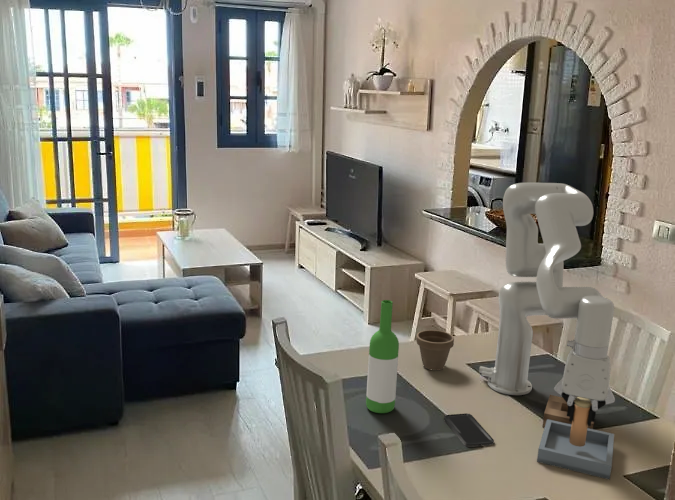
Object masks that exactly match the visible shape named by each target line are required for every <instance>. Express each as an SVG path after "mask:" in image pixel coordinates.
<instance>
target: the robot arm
mask: <svg viewBox="0 0 675 500" xmlns="http://www.w3.org/2000/svg"><path fill="white" fill-rule="evenodd" d="M502 209H503V216H504V220H505V225H506V238H505V239H506V240H505V269H506V272H507V274H509V275H510V276H512V277H517V278H536V280H535V281H512V282H507V283H505V284H504V285H502V286H501V288H500V289H499V291H498V309H499V324H498V335H497V343H496V344H497V345H496V353H495V362H494V367H487V366H482V365H480V366H479V368H478V369H479V370H478V372H479V373H481V376H484V377H488V378H487V385H488V386H489V388H490V389H492V390H494V391H496V392H497V393H500V394H504V395H508V396H522V395H523V396H524V395H528V394H530V393H531V392H532V390H533V385H532V383H531V381H530V380H528V376H529V368H530V361H531V359H530V358H531V353H532V352H531V351H532V344H533V335H534V331H533V328H532V326H531V325H532V324H531V323H530V322H529V321H528V319H527V317H530V316H548V317H549V318H550V319H556V320H558V319H559V320H561V319H576V326H575V333H574V339H571V340H567V343H566V347H569V348H571V349H570V351H569V353H568V355H567V358H566V360H565V366H564V369H563V370H564V371H563V376H562V378H561V379H560V380H559V381H558V382H557V383H556V384H555V386H554V388H553V390H554V391H555V392H556V394H559V395H560V397H563V398H564V400H565V401H566V402H567V405H568V410H567V416H569V417H570V418H569V422H571V421H572V420H573V413H574V404H575V403H574V400H575V398H577V397H581V398H586V399H589V400H590V401H591V403H592V404H591V407H590V411H589V418H588V426H591V421H592V422H594V423H595V420H596V413H597V411H598V410H599V409H601V408H603V407H604V406H606V405H611V404H613V403H615V401H616V398H615V395H614V393H613V391H612V389H611V387H610V381H611V359H610V356H609V355H608V351H609V345H610V339H611V332H612V327H613V326H612V325H613V319H614V313H615V312H614V311H615V304H614V303H613V301H612V300H611V299H609V298H607V297H605V296H603V295H602V293H601V292H600V291H599V290H598V289H597V288H595V287H592V286H563V285H564V265H565V264H564V261H566V260H568V259H570V258H572V257H574V256H576V255H577V254H578V253H579V252H580V250H581V249H582V243H581V239H580V237H579V234H578V233H579V232H578V229H577V227H583V226H588V225H589V224H590V223H591V222H592V220H593V217H594V206H593V202H592V201H591V199H590V198H589V196H587V194H585V193H584V192H582V191H580V190H579V189H576V188H575V187H573V186H572V185H568V184H566V183H561V182H560V183H559V182H558V183H557V182H533V181H532V182H530V181H529V182H518V183H514V184H511V185H510V186H508V187H507V188H506V189H505V192H504V195H503V199H502ZM531 214H532V215H533V214H534V215H535V216H536V220H537V222H538V223H536V220H535V219H534V218H533V216H532V215H531ZM537 224H538V225H537ZM539 232H540V236H541V238H542V239H541V240H542V243H539V242H538V241H539V238H538V237H539Z"/></svg>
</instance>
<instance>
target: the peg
mask: <svg viewBox="0 0 675 500" xmlns="http://www.w3.org/2000/svg"><path fill="white" fill-rule="evenodd" d="M574 400H575V404H574V413H573V420H572V425H571V432H570V440H569V442H570V443H571V444H572V445H575V446H580V447H581V446H584V445H585V441H586V435H587V428H588V418H589V411H590V407H591V403H592V400H591V399H586V398H581V397H574Z"/></svg>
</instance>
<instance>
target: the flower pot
mask: <svg viewBox="0 0 675 500" xmlns="http://www.w3.org/2000/svg"><path fill="white" fill-rule="evenodd" d="M415 337H416V344H417V346H418V347H419V352H420V359H421V363H422V366H423V365H424V366H425V367H426V368H425V367H424V366H423V367H424V368H425V369H427V368H428V369H427V370H429V369H432V370H431V371H440V370H443V369H444V368H445V366H446V364H447V360H448V357H449V354H450V351H451V349H452V348H453V347H454V342H455V337H454V336H453V335H452V334H451V333H449V332H446V331H443V330H437V329H436V330H435V329H428V330H427V329H425V330H421V331H419V332H417V333H416V336H415Z"/></svg>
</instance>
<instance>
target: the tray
mask: <svg viewBox="0 0 675 500" xmlns="http://www.w3.org/2000/svg"><path fill="white" fill-rule="evenodd" d="M543 428H544V427H543ZM570 432H571V424H567V423H562V422H558V421H553V420H549V419H547V421H546V424H545V428H544V429H543V432H542V436H541V439H540V442H539V445H538V450H537V458H536V462H537V463H541V464H544V465H549V466H551V467H556V468H561V469H566V470H568V469H569V471H574V472H578V473H582V474H585V475H590V476H593V477H597V478H602V479H605V480H610V478H611V474H612V473H611V471H612V466H613V455H614V443H615V441H614V440H615V433H611V432H607V431H603V430H598V429H594V428H593V429H590V428H587V435H586V441H585V445H584V446H581V447H580V446H575V445H572V444H571V443H570V442H569V440H570Z"/></svg>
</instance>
